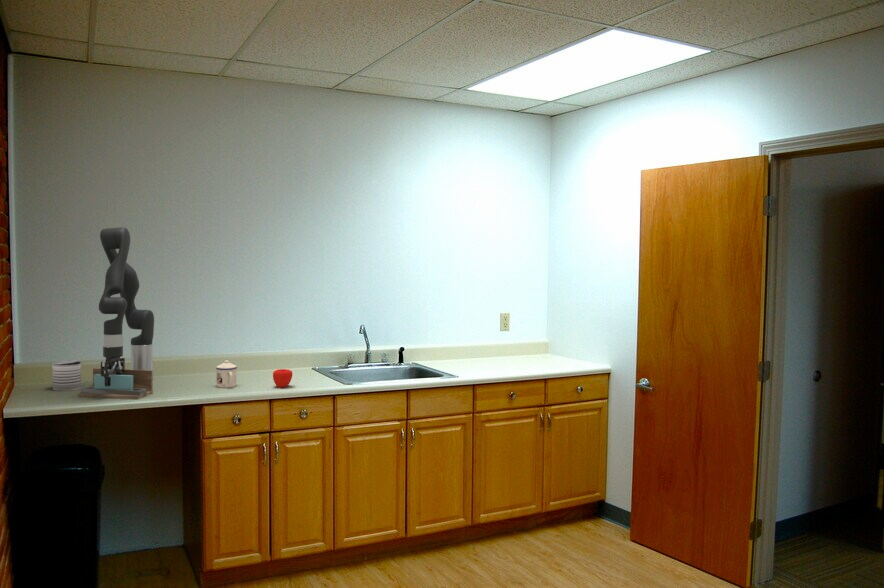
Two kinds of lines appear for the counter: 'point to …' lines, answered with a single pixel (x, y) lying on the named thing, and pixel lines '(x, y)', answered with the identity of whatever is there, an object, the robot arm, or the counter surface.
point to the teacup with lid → (226, 375)
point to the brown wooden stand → (140, 390)
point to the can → (66, 375)
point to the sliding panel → (114, 382)
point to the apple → (282, 377)
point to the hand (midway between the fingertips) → (112, 384)
